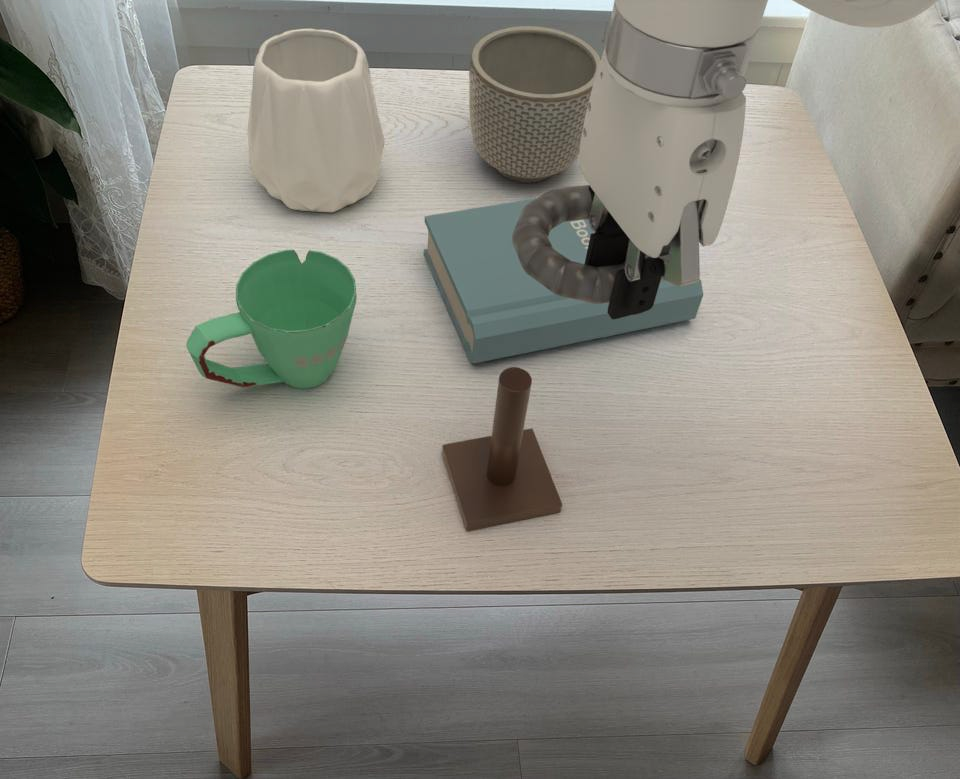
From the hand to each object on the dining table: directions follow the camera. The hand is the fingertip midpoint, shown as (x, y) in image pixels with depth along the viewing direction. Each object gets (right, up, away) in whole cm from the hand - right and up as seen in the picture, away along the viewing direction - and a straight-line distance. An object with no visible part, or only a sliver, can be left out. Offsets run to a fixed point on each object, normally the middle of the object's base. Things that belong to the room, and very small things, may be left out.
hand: (616, 292), depth 64 cm
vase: (-27, +16, +39) cm, 50 cm away
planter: (-4, +19, +43) cm, 48 cm away
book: (-2, +3, +31) cm, 31 cm away
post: (-8, -14, +15) cm, 22 cm away
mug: (-27, -6, +21) cm, 35 cm away
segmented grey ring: (-2, +4, +2) cm, 4 cm away
